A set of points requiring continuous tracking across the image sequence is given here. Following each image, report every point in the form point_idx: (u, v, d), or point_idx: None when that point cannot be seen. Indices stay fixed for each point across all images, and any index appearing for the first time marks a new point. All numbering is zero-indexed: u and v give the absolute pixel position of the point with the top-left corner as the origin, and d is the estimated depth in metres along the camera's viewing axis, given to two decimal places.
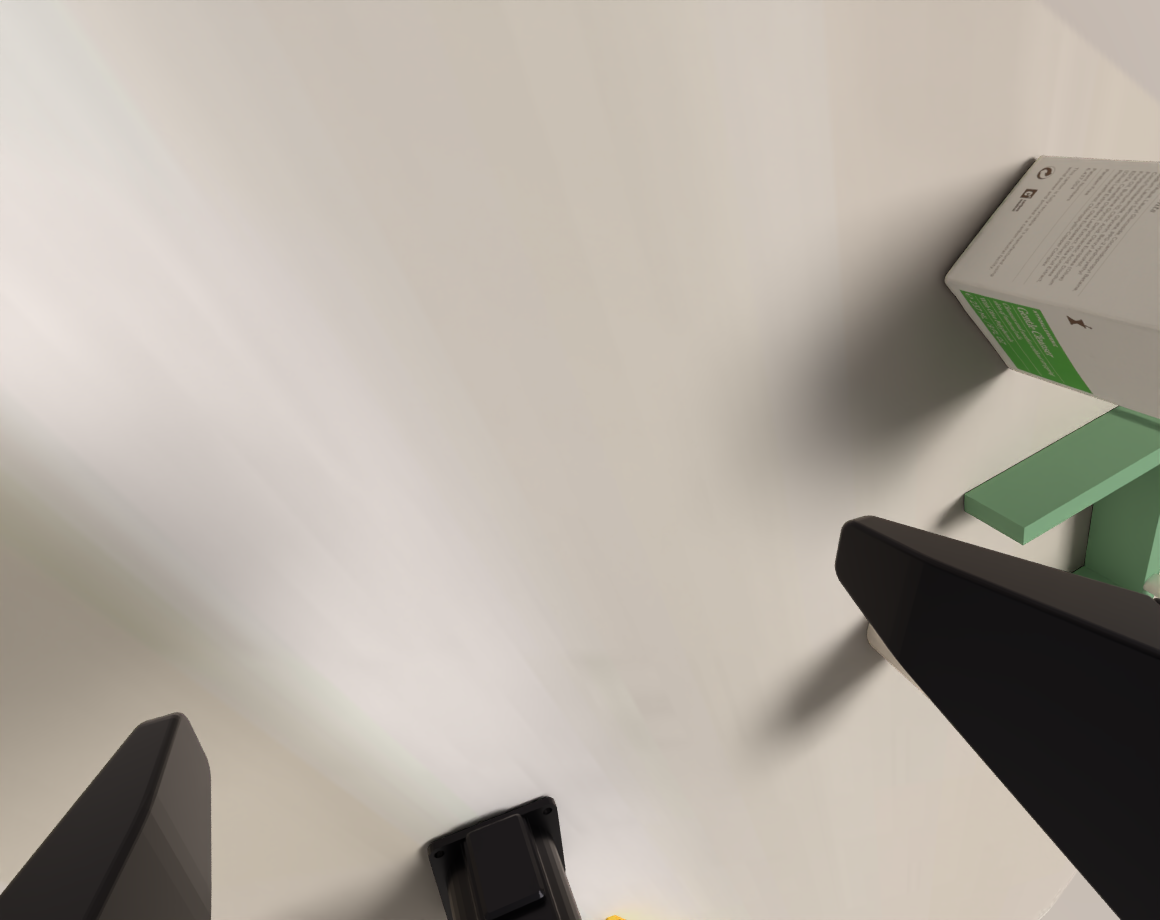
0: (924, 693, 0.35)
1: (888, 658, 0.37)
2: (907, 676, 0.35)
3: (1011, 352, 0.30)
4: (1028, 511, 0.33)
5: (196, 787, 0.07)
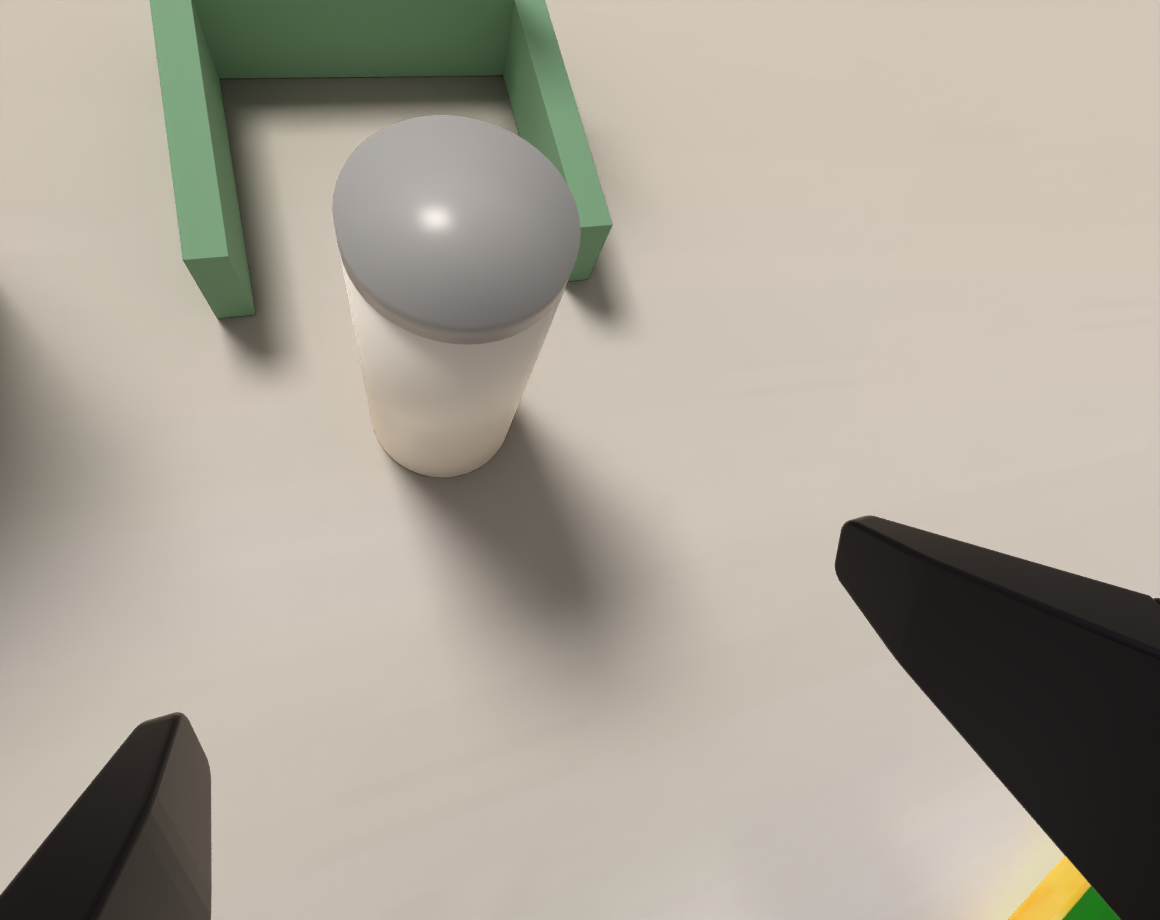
0: (482, 433, 0.19)
1: (466, 461, 0.21)
2: (472, 447, 0.20)
3: None
4: None
5: (196, 787, 0.07)
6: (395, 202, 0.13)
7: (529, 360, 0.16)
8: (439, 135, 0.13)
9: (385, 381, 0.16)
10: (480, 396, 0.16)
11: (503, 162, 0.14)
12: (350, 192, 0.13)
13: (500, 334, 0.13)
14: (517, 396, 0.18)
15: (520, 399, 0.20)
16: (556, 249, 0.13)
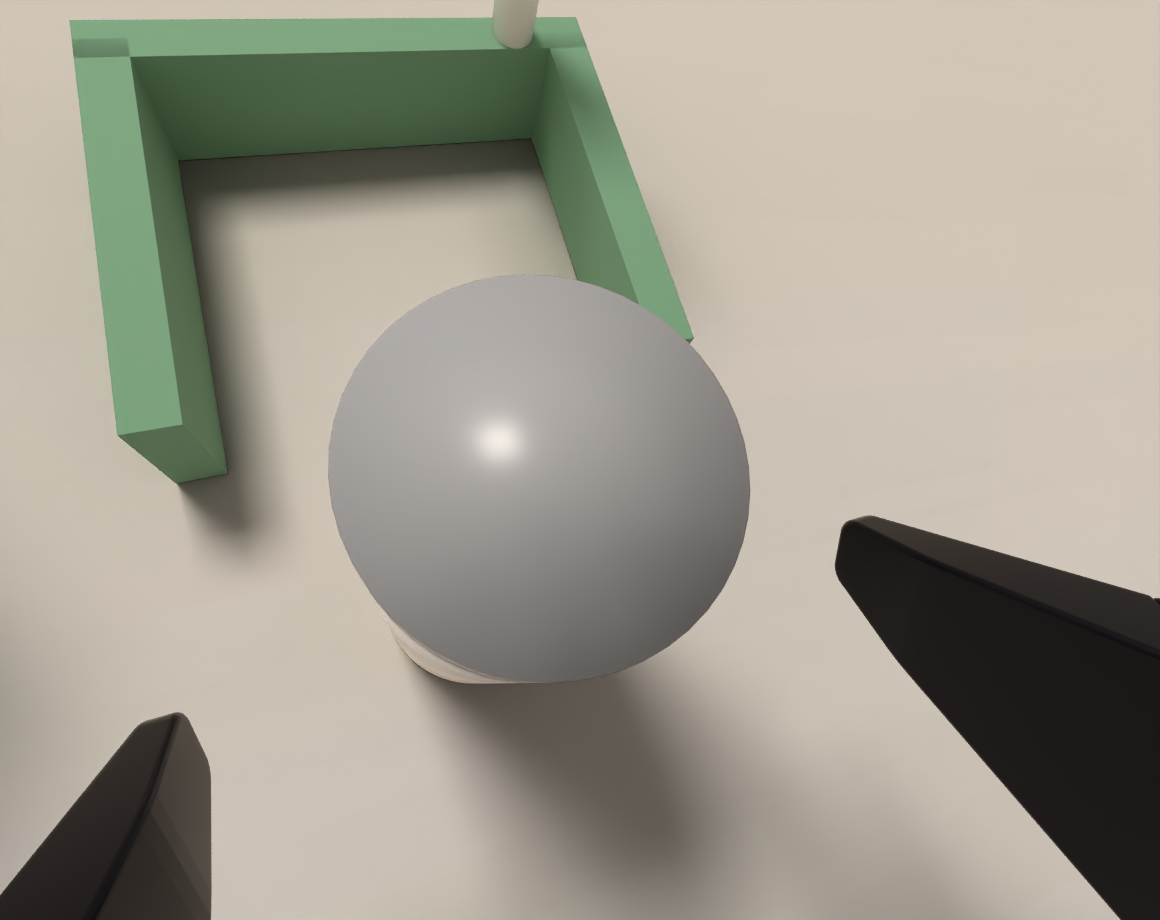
0: None
1: None
2: None
3: None
4: None
5: (196, 786, 0.07)
6: (438, 447, 0.07)
7: None
8: (505, 313, 0.08)
9: (414, 651, 0.10)
10: None
11: (612, 350, 0.08)
12: (359, 437, 0.07)
13: None
14: None
15: None
16: (714, 502, 0.08)
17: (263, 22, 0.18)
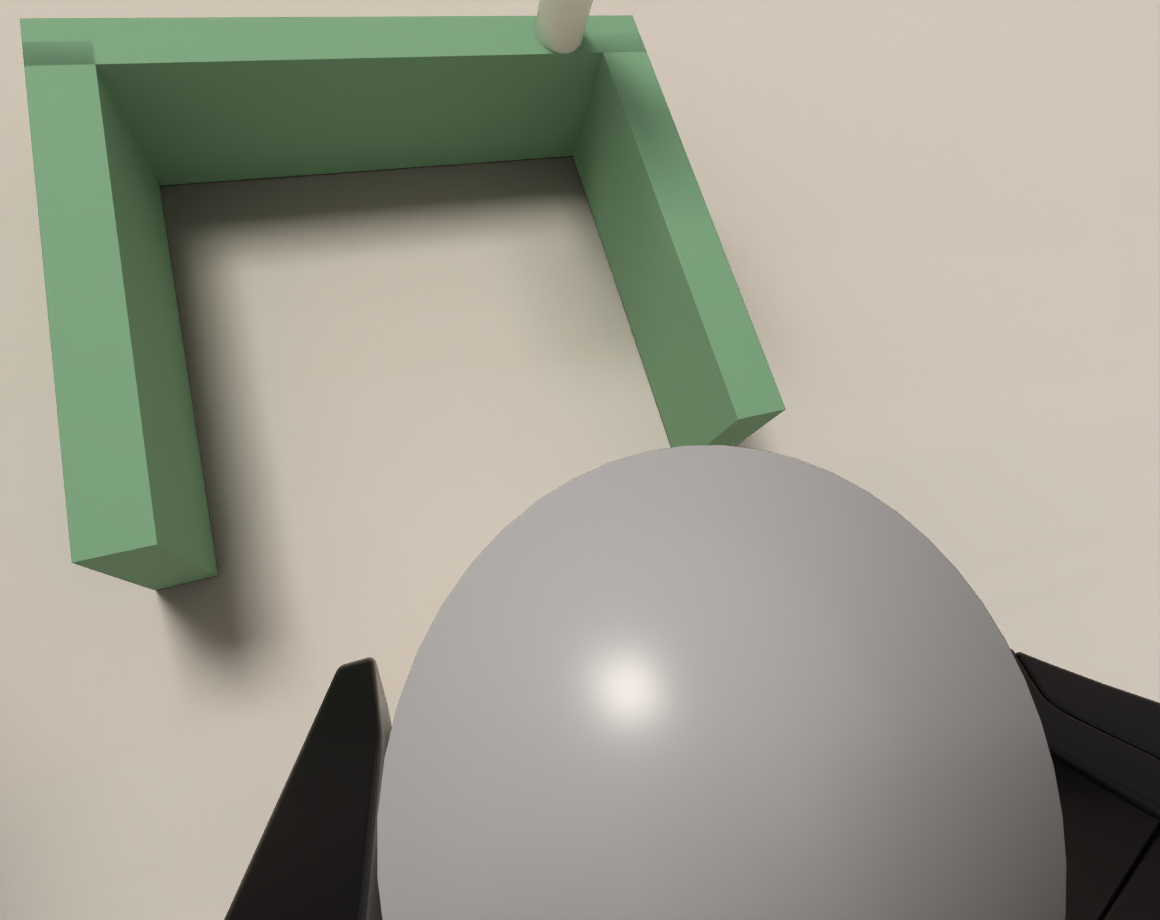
0: None
1: None
2: None
3: None
4: None
5: (388, 725, 0.08)
6: (568, 792, 0.04)
7: None
8: (659, 518, 0.05)
9: None
10: None
11: (829, 573, 0.05)
12: (430, 787, 0.04)
13: None
14: None
15: None
16: (1012, 844, 0.05)
17: (261, 21, 0.14)
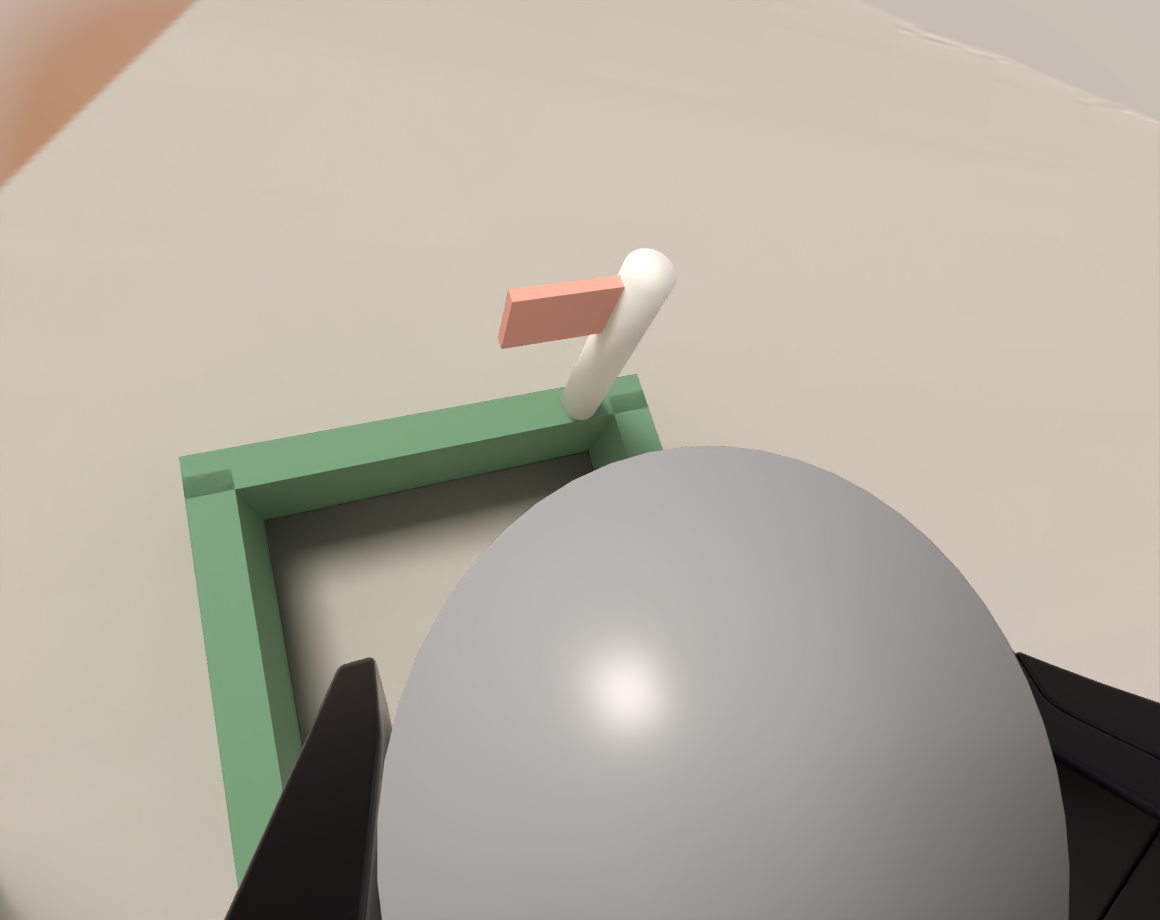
0: None
1: None
2: None
3: None
4: None
5: (388, 726, 0.08)
6: (568, 795, 0.04)
7: None
8: (660, 519, 0.05)
9: None
10: None
11: (830, 575, 0.05)
12: (430, 790, 0.04)
13: None
14: None
15: None
16: (1014, 847, 0.05)
17: (352, 429, 0.19)
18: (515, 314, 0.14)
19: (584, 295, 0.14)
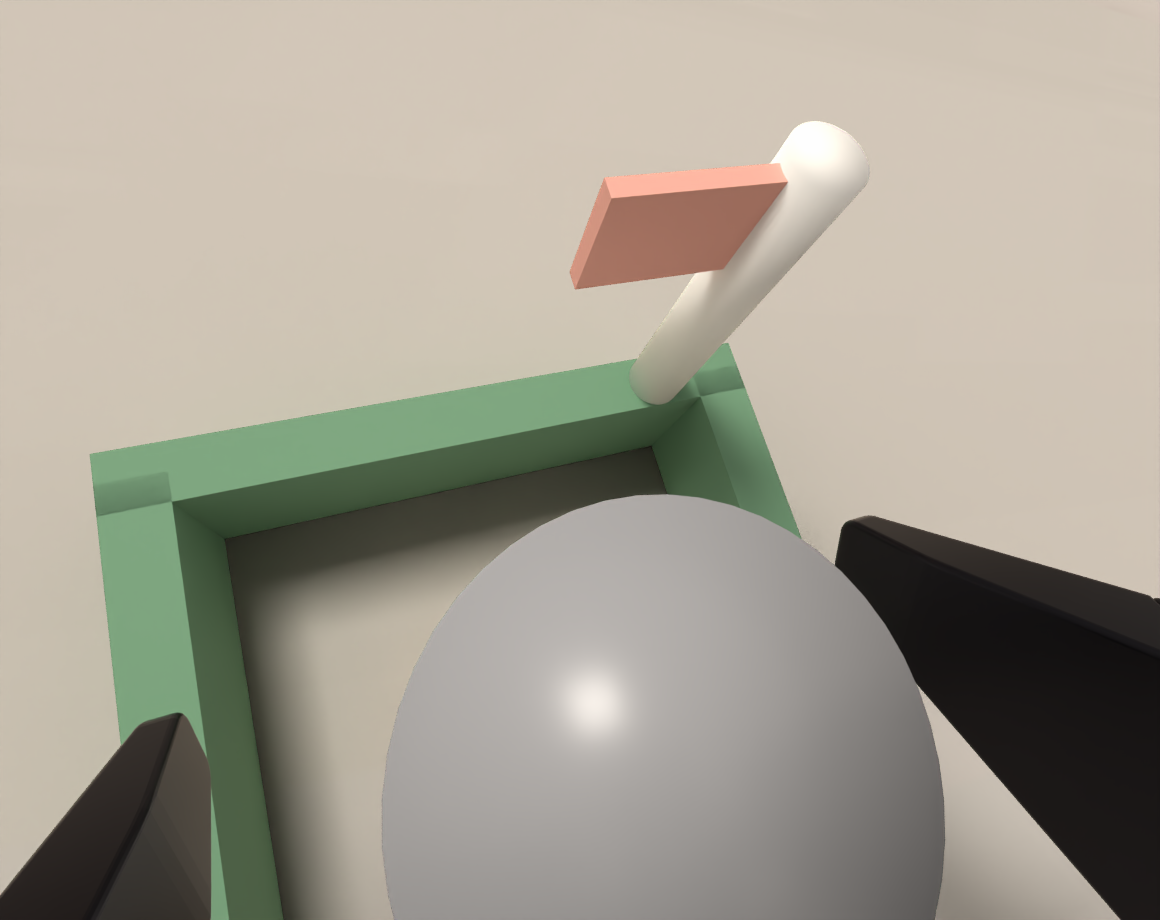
0: None
1: None
2: None
3: None
4: None
5: (196, 787, 0.07)
6: (533, 780, 0.05)
7: None
8: (613, 557, 0.06)
9: None
10: None
11: (754, 601, 0.06)
12: (423, 776, 0.05)
13: None
14: None
15: None
16: (899, 824, 0.06)
17: (344, 415, 0.13)
18: (610, 224, 0.08)
19: (722, 195, 0.09)
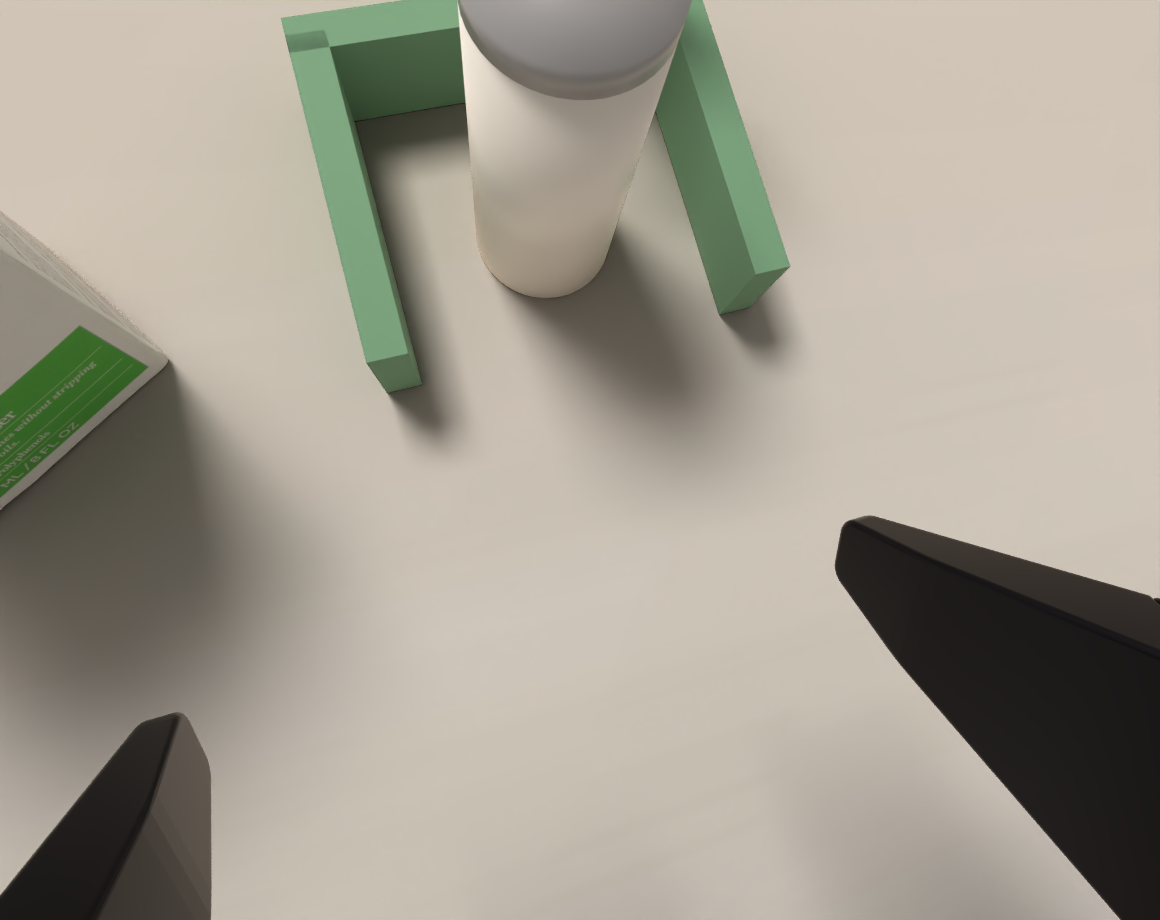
0: (590, 235, 0.20)
1: (572, 275, 0.22)
2: (579, 255, 0.21)
3: (93, 405, 0.20)
4: None
5: (196, 787, 0.07)
6: None
7: (640, 136, 0.16)
8: None
9: (502, 172, 0.17)
10: (593, 179, 0.16)
11: None
12: None
13: (620, 85, 0.13)
14: (624, 190, 0.19)
15: (624, 200, 0.20)
16: None
17: (426, 0, 0.21)
18: None
19: None
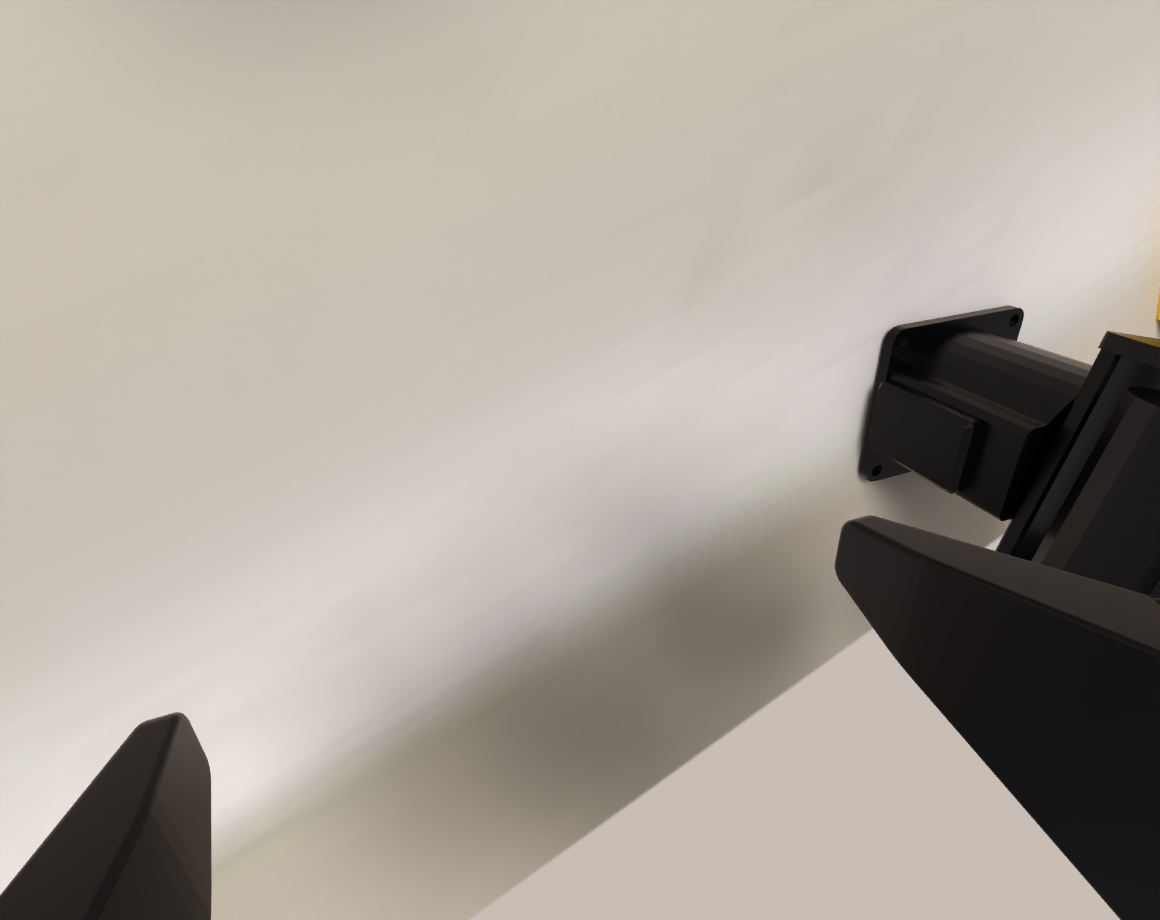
0: None
1: None
2: None
3: None
4: None
5: (196, 787, 0.07)
6: None
7: None
8: None
9: None
10: None
11: None
12: None
13: None
14: None
15: None
16: None
17: None
18: None
19: None
